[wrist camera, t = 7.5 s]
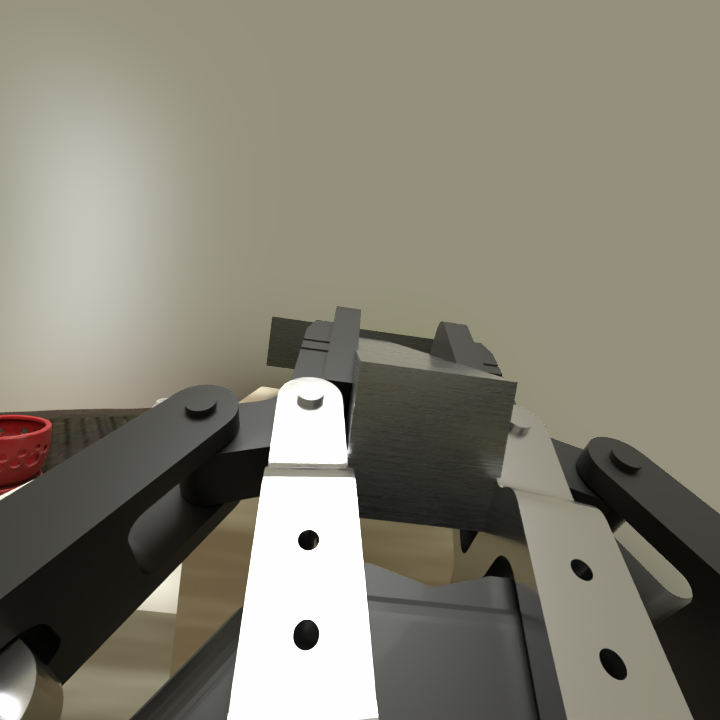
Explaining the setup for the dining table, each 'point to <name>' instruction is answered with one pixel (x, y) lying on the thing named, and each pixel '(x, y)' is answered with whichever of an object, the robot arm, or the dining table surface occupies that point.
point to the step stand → (220, 604)
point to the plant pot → (22, 449)
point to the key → (416, 428)
